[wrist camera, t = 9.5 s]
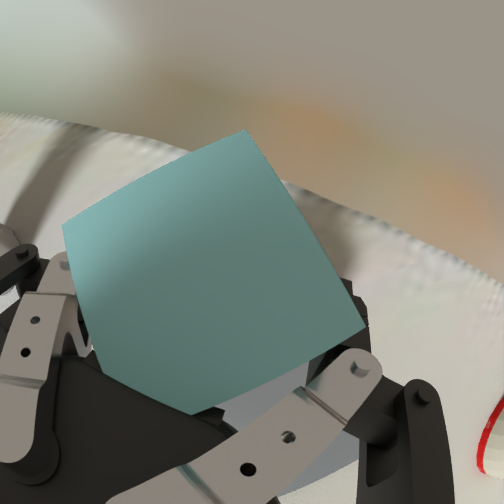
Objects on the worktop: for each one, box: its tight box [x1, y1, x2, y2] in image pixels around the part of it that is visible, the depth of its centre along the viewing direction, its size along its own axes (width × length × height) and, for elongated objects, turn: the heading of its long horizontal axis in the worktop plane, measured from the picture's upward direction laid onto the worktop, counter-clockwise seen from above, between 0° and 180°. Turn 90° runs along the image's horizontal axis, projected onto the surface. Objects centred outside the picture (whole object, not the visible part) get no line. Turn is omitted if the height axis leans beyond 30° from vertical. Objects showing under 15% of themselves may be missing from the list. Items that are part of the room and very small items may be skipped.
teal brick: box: [62, 130, 366, 415], centre depth 10 cm, size 5×5×10 cm
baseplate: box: [215, 361, 359, 497], centre depth 25 cm, size 24×14×1 cm, turn 27°
